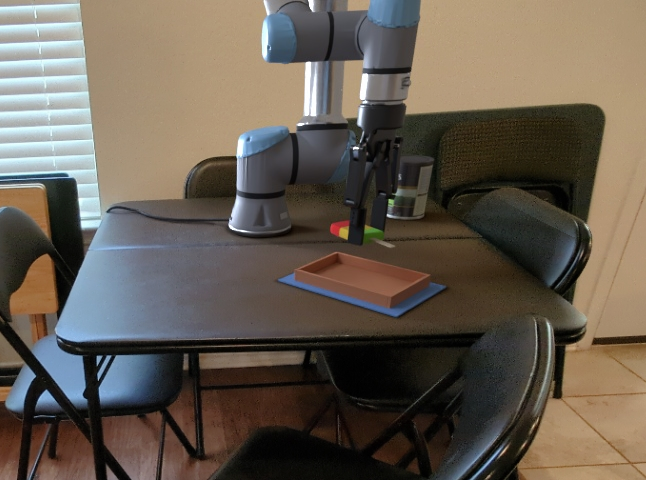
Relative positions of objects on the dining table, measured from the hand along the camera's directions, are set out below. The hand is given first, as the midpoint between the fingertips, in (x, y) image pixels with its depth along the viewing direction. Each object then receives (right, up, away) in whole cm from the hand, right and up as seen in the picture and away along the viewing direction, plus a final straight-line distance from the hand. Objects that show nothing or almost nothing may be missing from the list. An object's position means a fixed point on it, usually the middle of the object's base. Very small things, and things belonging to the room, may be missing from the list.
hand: (365, 239), depth 107 cm
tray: (0, -8, +4) cm, 9 cm away
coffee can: (+25, +16, +45) cm, 54 cm away
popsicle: (0, 0, 0) cm, 1 cm away
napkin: (0, -8, +4) cm, 9 cm away
